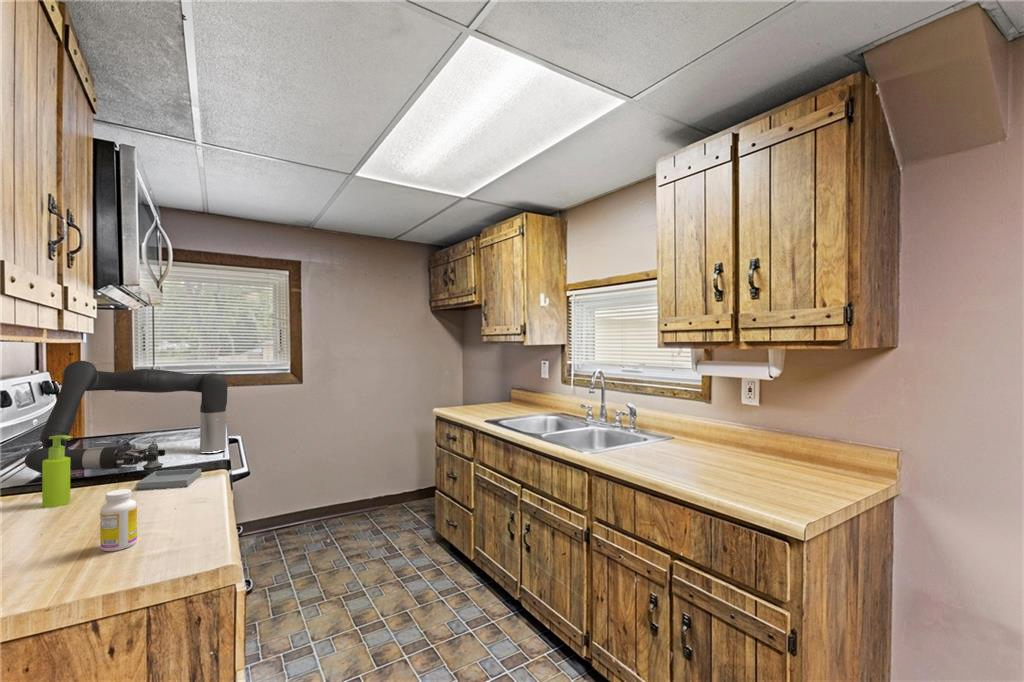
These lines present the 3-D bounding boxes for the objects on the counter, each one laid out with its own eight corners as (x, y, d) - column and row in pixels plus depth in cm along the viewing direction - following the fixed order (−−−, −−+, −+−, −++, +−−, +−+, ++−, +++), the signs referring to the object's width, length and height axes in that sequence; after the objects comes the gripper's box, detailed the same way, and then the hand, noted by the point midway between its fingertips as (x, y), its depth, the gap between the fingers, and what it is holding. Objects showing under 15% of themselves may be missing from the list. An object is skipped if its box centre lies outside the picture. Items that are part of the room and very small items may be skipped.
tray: (154, 478, 164) (154, 471, 164) (201, 475, 168) (201, 468, 168) (136, 490, 151) (136, 483, 151) (187, 487, 155) (187, 479, 155)
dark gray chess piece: (151, 478, 164) (152, 443, 164) (137, 477, 165) (138, 442, 165) (167, 473, 170) (167, 440, 169) (153, 472, 171) (154, 439, 171)
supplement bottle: (132, 537, 117) (133, 485, 116) (140, 545, 112) (140, 491, 112) (97, 546, 111) (97, 492, 111) (103, 555, 107) (103, 498, 107)
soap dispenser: (60, 508, 135) (60, 438, 135) (36, 507, 135) (36, 437, 135) (79, 500, 141) (79, 433, 141) (56, 500, 141) (56, 433, 141)
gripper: (92, 452, 156) (152, 449, 161) (114, 442, 170) (169, 440, 175) (92, 474, 156) (152, 471, 161) (114, 463, 170) (168, 460, 175)
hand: (160, 455), depth 168 cm, fingers open, 6 cm apart
